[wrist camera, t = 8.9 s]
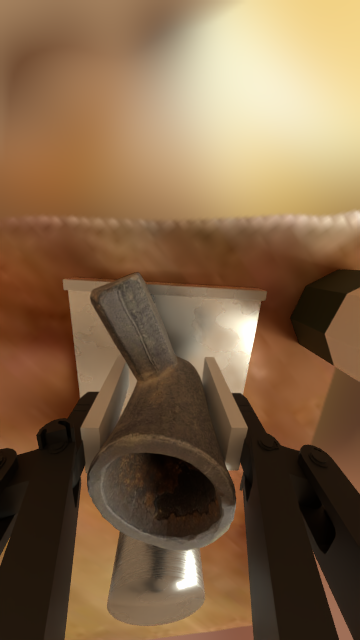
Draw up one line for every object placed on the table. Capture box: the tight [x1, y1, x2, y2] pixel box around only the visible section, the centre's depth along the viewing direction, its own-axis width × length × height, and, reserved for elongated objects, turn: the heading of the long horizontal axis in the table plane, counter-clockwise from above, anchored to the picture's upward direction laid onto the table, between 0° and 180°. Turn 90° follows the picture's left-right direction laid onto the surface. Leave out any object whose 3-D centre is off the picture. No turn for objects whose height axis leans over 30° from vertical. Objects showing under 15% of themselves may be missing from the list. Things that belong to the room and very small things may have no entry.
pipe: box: [87, 272, 236, 551], centre depth 11 cm, size 6×13×8 cm, turn 21°
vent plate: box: [63, 277, 267, 626], centre depth 14 cm, size 16×21×11 cm
